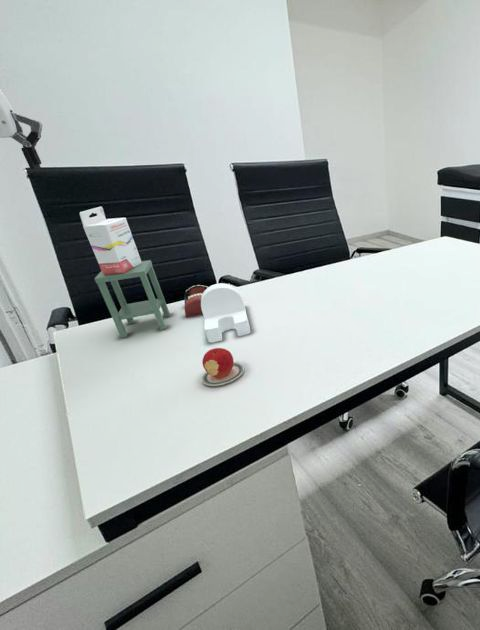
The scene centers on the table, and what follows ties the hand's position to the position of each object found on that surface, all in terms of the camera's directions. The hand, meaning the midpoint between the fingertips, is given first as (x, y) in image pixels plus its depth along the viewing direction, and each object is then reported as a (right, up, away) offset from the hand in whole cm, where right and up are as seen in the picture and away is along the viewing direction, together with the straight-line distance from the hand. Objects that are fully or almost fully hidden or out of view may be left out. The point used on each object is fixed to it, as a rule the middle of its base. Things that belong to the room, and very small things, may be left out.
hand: (5, 170), depth 76 cm
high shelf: (+9, -31, +27) cm, 42 cm away
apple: (+41, -41, +4) cm, 59 cm away
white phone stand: (+32, -31, +26) cm, 51 cm away
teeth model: (+19, -27, +35) cm, 48 cm away
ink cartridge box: (+9, -17, +20) cm, 27 cm away
